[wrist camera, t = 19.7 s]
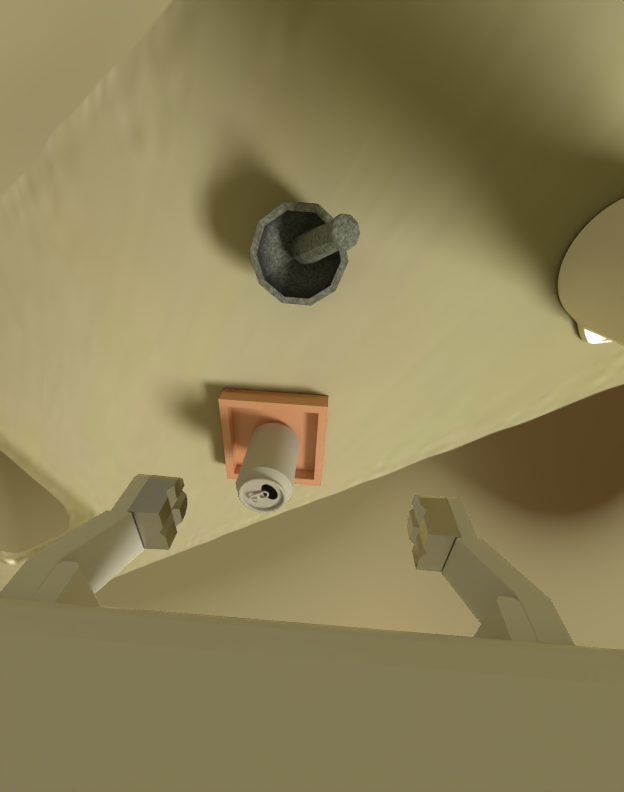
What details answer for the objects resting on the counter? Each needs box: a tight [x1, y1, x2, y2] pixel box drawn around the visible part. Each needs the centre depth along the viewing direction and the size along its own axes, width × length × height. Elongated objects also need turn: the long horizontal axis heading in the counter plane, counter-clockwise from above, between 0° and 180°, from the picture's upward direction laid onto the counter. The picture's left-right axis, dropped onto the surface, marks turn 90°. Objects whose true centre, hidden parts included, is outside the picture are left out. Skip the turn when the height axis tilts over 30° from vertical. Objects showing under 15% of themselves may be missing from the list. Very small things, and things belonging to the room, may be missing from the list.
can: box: [236, 423, 299, 513], centre depth 48 cm, size 8×8×12 cm
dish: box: [218, 388, 328, 486], centre depth 52 cm, size 15×15×3 cm
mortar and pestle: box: [249, 201, 360, 305], centre depth 34 cm, size 11×9×12 cm
